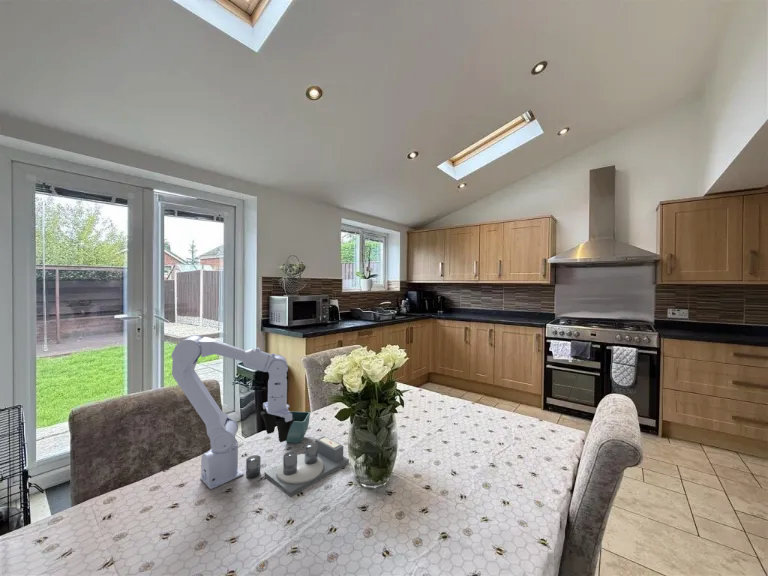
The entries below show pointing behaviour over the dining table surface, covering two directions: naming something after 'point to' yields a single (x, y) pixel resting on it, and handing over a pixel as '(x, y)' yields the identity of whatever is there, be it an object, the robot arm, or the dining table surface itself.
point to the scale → (309, 467)
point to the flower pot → (298, 427)
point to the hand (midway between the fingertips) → (276, 436)
